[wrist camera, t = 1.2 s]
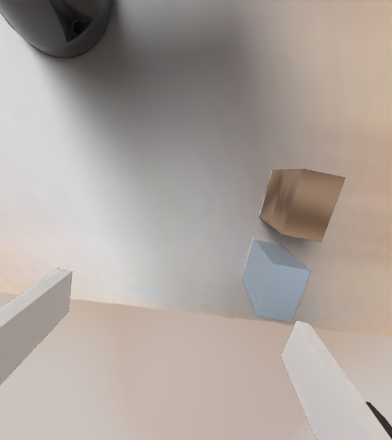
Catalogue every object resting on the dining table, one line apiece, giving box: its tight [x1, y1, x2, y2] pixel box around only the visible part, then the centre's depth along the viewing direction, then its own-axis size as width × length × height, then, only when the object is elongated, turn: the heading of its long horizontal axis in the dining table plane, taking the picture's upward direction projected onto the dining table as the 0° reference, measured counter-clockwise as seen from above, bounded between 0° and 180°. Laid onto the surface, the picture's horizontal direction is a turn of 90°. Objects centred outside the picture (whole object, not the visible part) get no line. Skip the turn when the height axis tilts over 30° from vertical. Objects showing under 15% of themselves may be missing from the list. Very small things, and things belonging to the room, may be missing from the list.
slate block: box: [242, 238, 310, 322], centre depth 31 cm, size 8×5×10 cm, turn 169°
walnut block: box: [259, 169, 345, 242], centre depth 28 cm, size 8×5×10 cm, turn 169°
